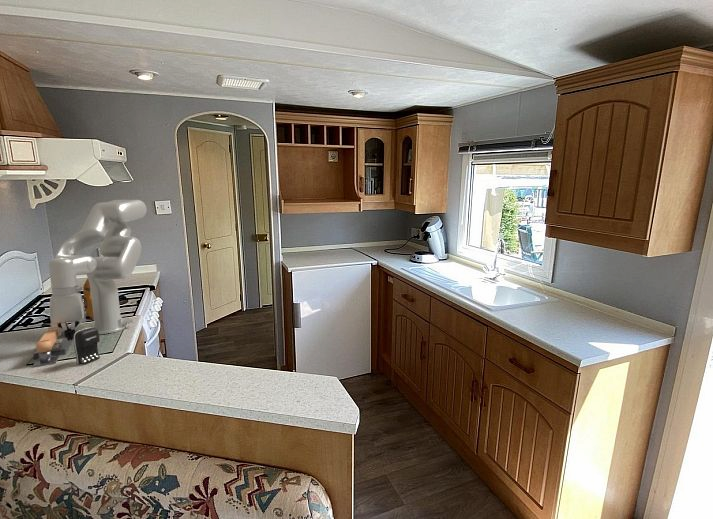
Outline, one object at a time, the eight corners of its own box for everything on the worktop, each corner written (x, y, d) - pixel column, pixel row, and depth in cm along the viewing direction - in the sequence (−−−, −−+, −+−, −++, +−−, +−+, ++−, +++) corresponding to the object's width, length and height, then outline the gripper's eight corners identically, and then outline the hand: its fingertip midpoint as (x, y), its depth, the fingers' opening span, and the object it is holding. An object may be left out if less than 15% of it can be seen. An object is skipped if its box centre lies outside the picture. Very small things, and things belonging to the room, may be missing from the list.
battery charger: (83, 366, 126) (79, 333, 124) (75, 365, 127) (71, 332, 126) (103, 358, 133) (100, 326, 131) (95, 357, 134) (92, 325, 132)
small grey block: (59, 357, 134) (57, 346, 133) (55, 363, 129) (54, 352, 128) (37, 361, 131) (35, 350, 130) (32, 367, 126) (31, 355, 125)
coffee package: (88, 321, 177) (82, 274, 174) (84, 315, 186) (78, 271, 183) (113, 316, 184) (108, 271, 180) (108, 311, 193) (103, 268, 190)
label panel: (72, 341, 150) (71, 336, 149) (65, 354, 137) (64, 348, 136) (43, 345, 145) (42, 340, 145) (33, 359, 132) (32, 353, 132)
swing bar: (61, 334, 146) (60, 325, 145) (50, 351, 128) (49, 342, 128) (48, 336, 144) (47, 327, 144) (35, 354, 126) (34, 344, 126)
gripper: (90, 287, 147) (95, 333, 150) (41, 292, 140) (47, 340, 143) (88, 290, 141) (93, 338, 143) (36, 296, 134) (43, 346, 136)
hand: (70, 339), depth 143 cm, fingers closed
